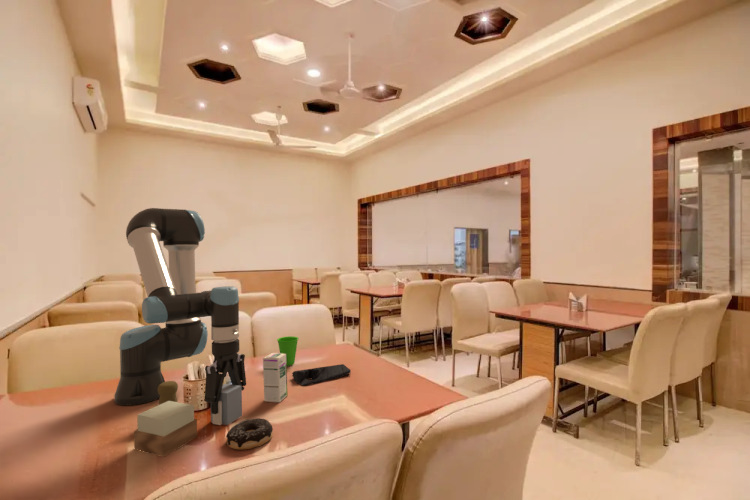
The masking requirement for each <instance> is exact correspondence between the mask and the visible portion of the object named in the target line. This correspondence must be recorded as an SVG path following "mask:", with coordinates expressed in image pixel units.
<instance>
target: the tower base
mask: <svg viewBox="0 0 750 500" xmlns="http://www.w3.org/2000/svg"><path fill="white" fill-rule="evenodd" d="M133 434H134V435H133V439H134V441H133V445H134V448H135V449H138V450H141V451H140V452H143V451H144V452H143V453H148V454H152V455H155V456H160V457H166V456H168V455H170V454H171V453H173V452H174V451H176V450H178V449H179V448H181V447H182V446H184V445H186V444H188V443H190V442H191V441H192V440H194V439H196V438H198V419H197V418H194V421H192V422H190V423H188V424H186V425H184V426H183V427H181V428H179V429H177V430H175V431H173V432H172V433H170V434H168V435H166V436H159V435H155V434H150V433H146V432H141V431H138V428H137V429H136V430H134V431H133ZM134 448H133V449H134ZM138 450H137V451H138Z"/></svg>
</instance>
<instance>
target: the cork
mask: <svg viewBox="0 0 750 500" xmlns="http://www.w3.org/2000/svg"><path fill="white" fill-rule="evenodd" d="M178 388H179V385H178V383H177V382H176V381H174V380H166V381H165V382H163V383H161V384H160V385H159V386H158V394H159V395H160V398H159V399H158V400H159V401H158V405H160V404H163V403H165V402H167V401H173V402H178V396H177V391H178Z"/></svg>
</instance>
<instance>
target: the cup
mask: <svg viewBox="0 0 750 500" xmlns="http://www.w3.org/2000/svg"><path fill="white" fill-rule="evenodd" d="M299 338H300V337H298V336H283V337H279V338H277V340H276V341H277V343H278V348H279V353H285V354H286V364H287V367H290V365H291V366H293V364H294V365H295V362H296V361H295V360H296V354H297V347H298V346H297V345H298V340H299Z"/></svg>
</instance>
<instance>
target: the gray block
mask: <svg viewBox="0 0 750 500" xmlns="http://www.w3.org/2000/svg"><path fill="white" fill-rule="evenodd" d="M242 394H243V392H242V386H239V385H232V383H223V386H222V391H221V395H220V399H219V401H222V424H221V425H224V426H225V425H226V426H228V425H230V424H232V423H233V422H235V421H236V420H238V419H240V418H241V417H243V401H242V400H243V395H242ZM215 398H216V397H215ZM210 423H213V417H212V413H211V412H210Z"/></svg>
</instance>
